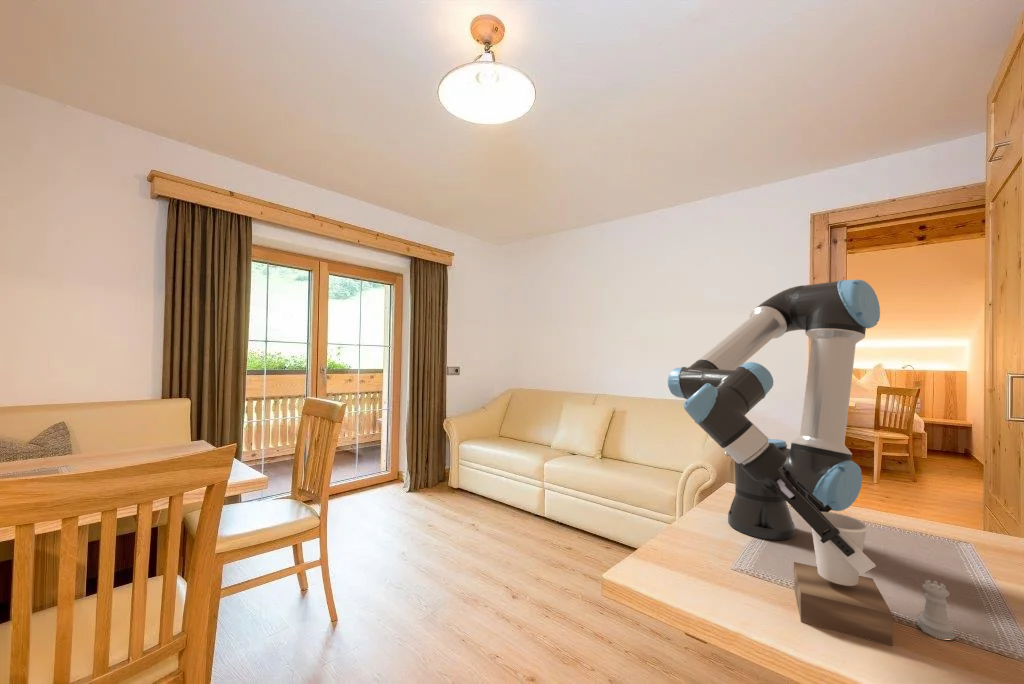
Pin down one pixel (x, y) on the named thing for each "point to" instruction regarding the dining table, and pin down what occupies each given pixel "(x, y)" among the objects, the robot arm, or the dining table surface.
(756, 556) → the dining table surface
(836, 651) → the dining table surface
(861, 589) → the walnut block
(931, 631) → the rook chess piece
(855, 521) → the dixie cup
